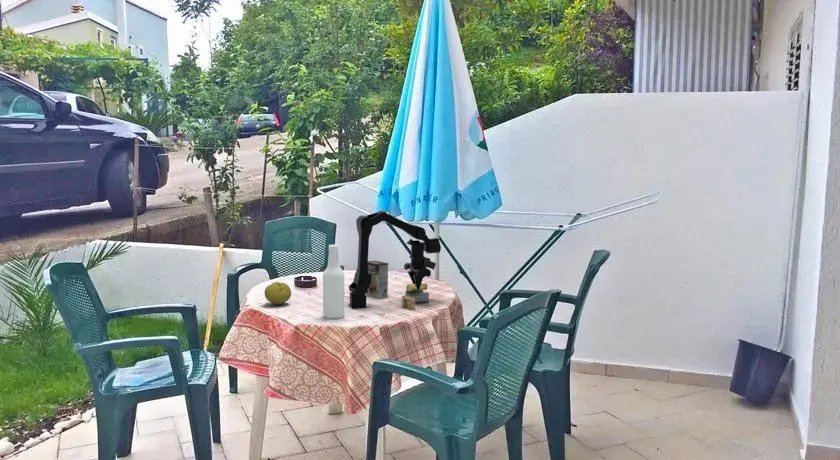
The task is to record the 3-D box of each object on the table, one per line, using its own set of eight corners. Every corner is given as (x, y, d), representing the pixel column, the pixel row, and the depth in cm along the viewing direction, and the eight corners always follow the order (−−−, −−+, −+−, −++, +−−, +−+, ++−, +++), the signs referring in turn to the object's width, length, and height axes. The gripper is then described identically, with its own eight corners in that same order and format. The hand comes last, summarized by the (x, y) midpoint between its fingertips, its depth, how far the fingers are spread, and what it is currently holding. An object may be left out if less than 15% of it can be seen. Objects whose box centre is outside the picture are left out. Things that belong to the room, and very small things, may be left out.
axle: (408, 291, 328) (408, 285, 327) (406, 290, 330) (406, 283, 330) (427, 290, 331) (427, 284, 330) (424, 289, 334) (425, 282, 333)
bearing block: (408, 309, 316) (408, 299, 316) (402, 305, 324) (402, 295, 323) (415, 309, 317) (415, 299, 317) (408, 305, 325) (408, 295, 324)
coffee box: (364, 295, 342) (364, 261, 340) (374, 293, 347) (374, 260, 344) (378, 299, 336) (378, 264, 333) (388, 296, 340) (388, 262, 338)
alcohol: (319, 317, 302) (318, 246, 298) (329, 313, 310) (328, 242, 306) (338, 320, 299) (338, 247, 294) (348, 315, 307) (347, 244, 303)
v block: (412, 304, 326) (412, 294, 325) (405, 300, 334) (405, 289, 333) (428, 303, 329) (429, 292, 328) (421, 298, 337) (421, 288, 336)
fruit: (262, 303, 326) (261, 281, 325) (288, 300, 331) (287, 279, 330) (267, 308, 316) (266, 286, 315) (294, 306, 321) (293, 283, 319)
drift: (404, 309, 318) (404, 303, 318) (402, 307, 321) (402, 302, 320) (414, 308, 320) (415, 302, 320) (412, 306, 322) (413, 301, 322)
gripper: (442, 256, 323) (441, 291, 325) (426, 249, 340) (425, 282, 342) (418, 257, 319) (418, 293, 321) (403, 251, 336) (403, 284, 338)
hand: (417, 288), depth 331 cm, fingers closed on axle, 3 cm apart
